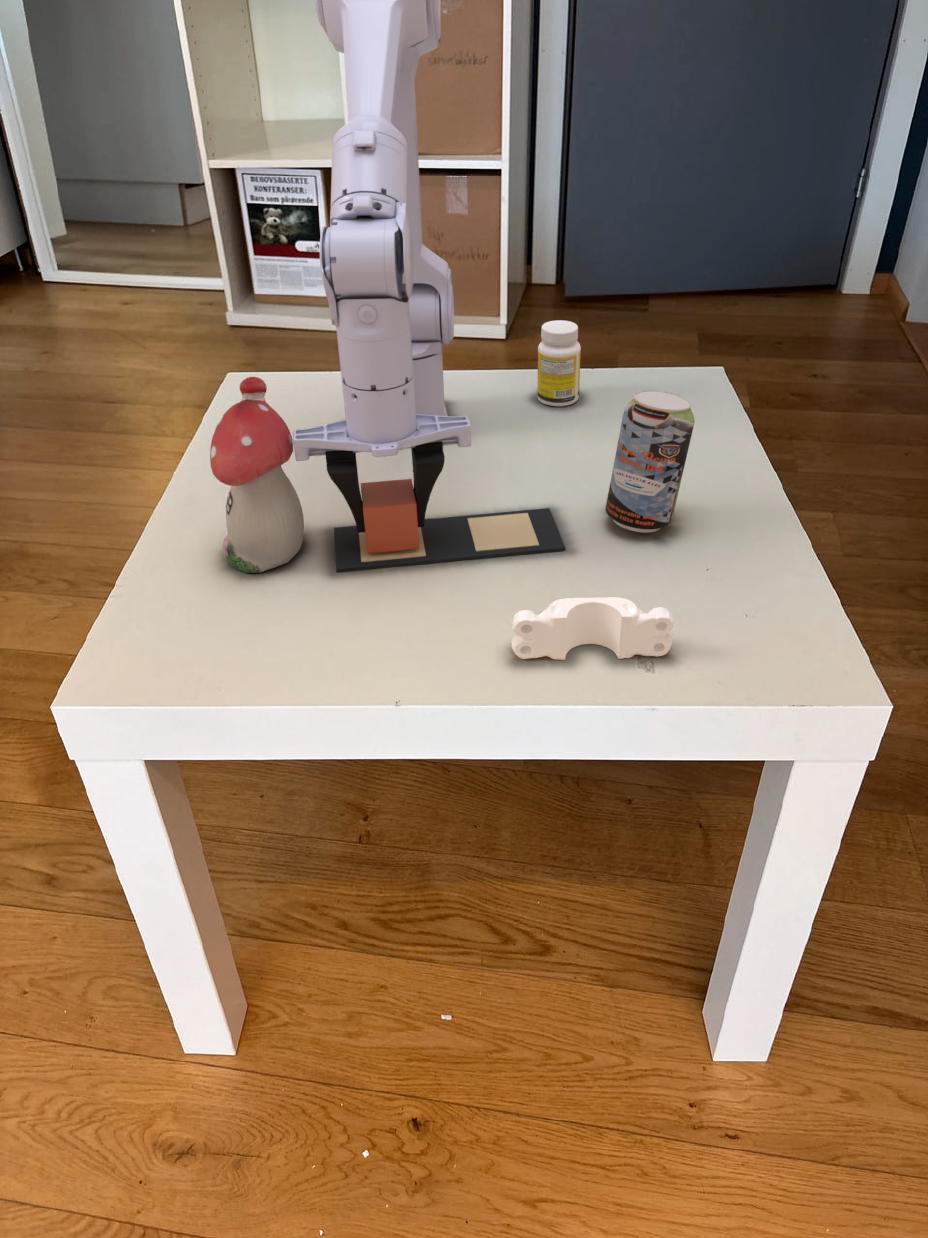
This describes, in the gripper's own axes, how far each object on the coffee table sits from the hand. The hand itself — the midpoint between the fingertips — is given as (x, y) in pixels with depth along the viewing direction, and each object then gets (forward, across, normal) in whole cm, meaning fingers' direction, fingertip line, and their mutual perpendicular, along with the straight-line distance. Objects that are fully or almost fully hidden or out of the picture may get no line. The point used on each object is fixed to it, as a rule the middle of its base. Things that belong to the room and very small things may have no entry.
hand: (389, 524), depth 86 cm
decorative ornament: (+2, -11, +1) cm, 11 cm away
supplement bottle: (+2, +21, +28) cm, 35 cm away
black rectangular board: (+2, +5, 0) cm, 5 cm away
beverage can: (+2, +23, 0) cm, 23 cm away
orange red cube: (+1, 0, 0) cm, 1 cm away
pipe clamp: (+2, +14, -17) cm, 22 cm away
